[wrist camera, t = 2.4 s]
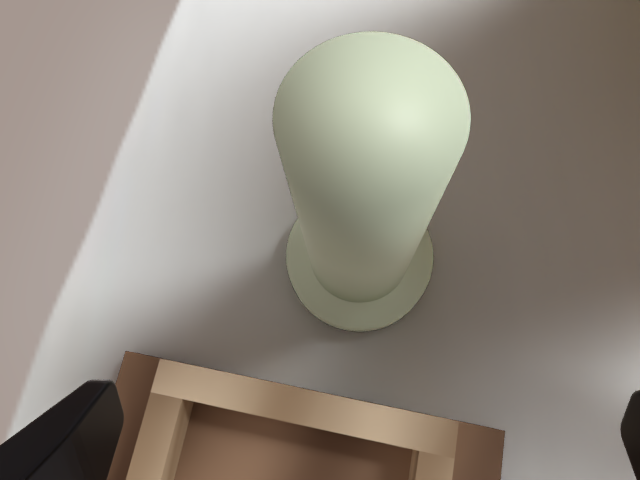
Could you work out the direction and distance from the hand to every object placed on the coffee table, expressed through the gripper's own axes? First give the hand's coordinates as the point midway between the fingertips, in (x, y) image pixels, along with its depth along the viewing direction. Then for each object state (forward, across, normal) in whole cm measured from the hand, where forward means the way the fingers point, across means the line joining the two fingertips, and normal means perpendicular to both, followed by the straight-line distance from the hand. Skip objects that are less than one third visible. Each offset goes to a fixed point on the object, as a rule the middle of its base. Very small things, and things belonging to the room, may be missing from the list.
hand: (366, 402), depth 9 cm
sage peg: (+12, 0, +4) cm, 13 cm away
